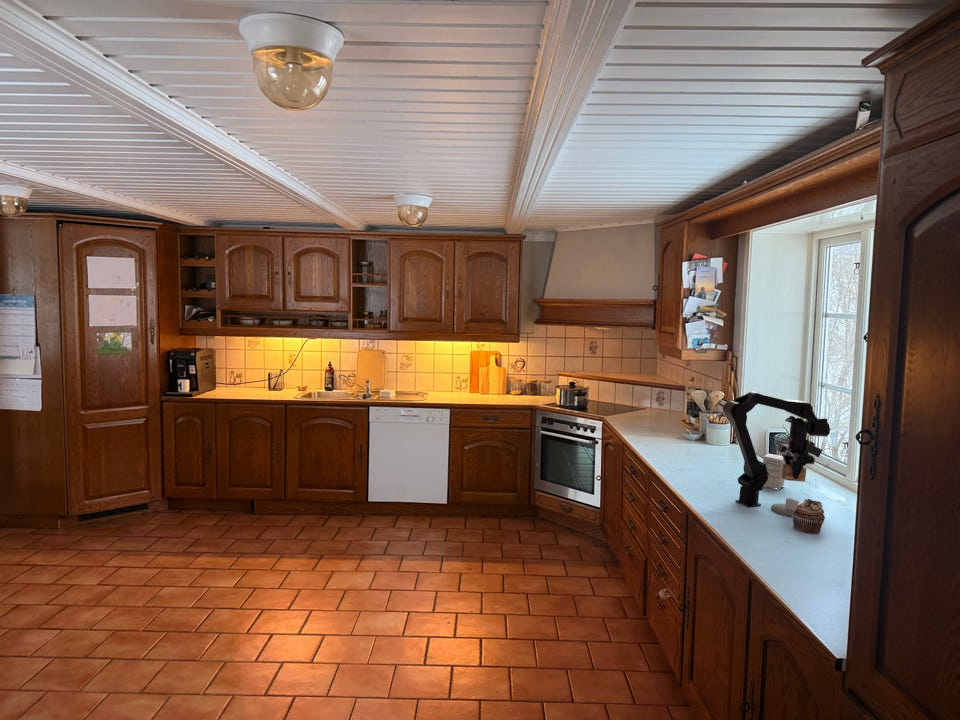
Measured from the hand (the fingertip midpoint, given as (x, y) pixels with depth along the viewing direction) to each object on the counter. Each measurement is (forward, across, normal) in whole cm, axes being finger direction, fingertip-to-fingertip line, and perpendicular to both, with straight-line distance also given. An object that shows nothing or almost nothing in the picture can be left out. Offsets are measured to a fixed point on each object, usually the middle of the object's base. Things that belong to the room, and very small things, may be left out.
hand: (793, 476), depth 243 cm
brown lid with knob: (+11, -9, +3) cm, 14 cm away
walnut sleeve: (+1, 0, 0) cm, 1 cm away
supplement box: (+11, +25, -2) cm, 28 cm away
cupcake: (+11, -27, +5) cm, 30 cm away
